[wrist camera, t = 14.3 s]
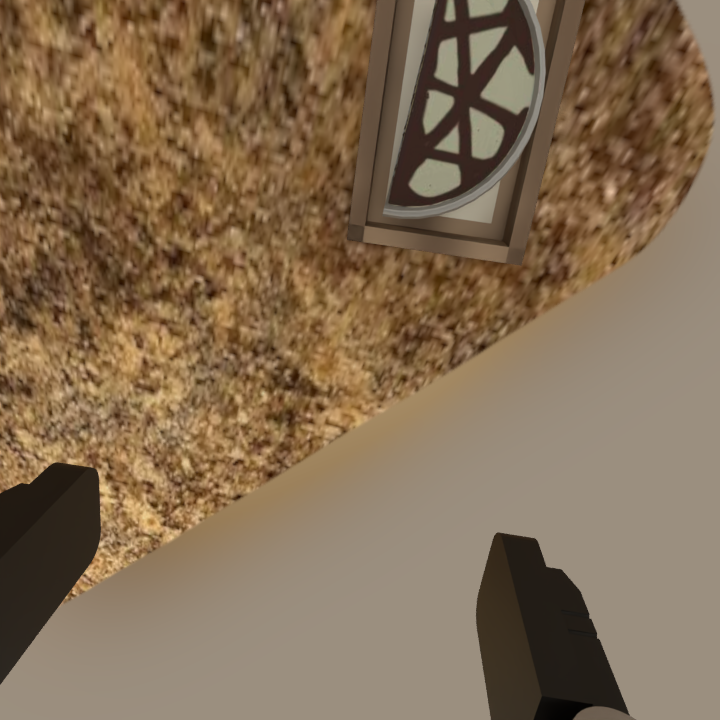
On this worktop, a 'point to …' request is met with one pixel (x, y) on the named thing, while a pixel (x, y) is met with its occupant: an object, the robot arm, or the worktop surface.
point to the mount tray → (386, 125)
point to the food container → (468, 105)
